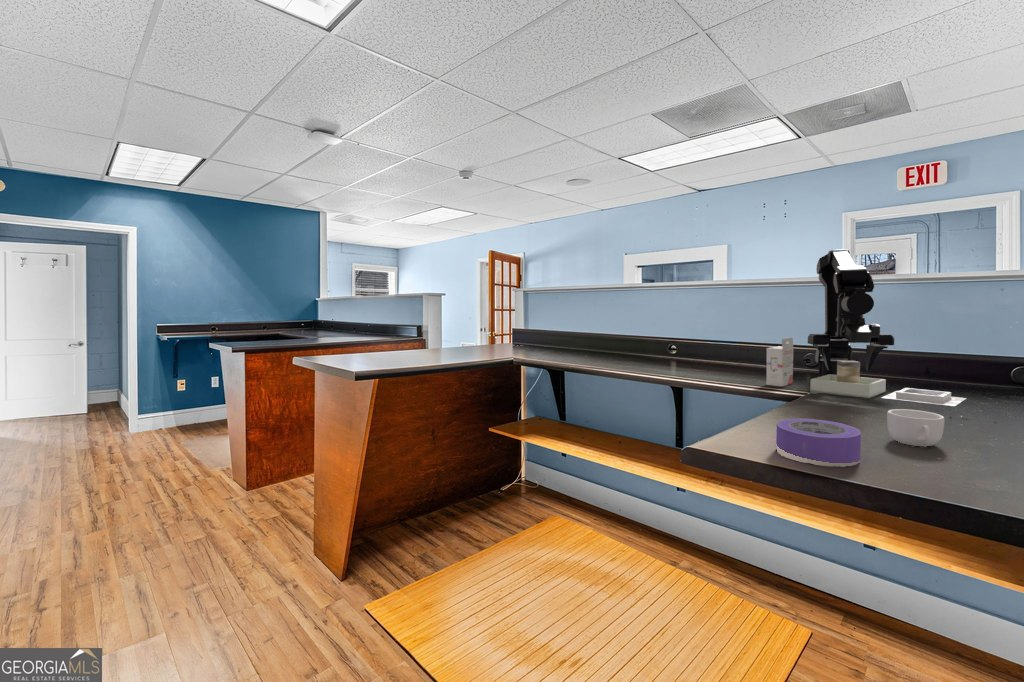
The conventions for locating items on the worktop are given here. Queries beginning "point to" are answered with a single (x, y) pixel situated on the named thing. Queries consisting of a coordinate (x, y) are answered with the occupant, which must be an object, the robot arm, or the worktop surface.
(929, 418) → the teacup
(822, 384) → the bin
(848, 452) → the tape roll
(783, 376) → the ink cartridge box
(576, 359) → the worktop surface
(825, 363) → the robot arm
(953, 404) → the socket collar
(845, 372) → the strut
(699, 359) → the worktop surface
